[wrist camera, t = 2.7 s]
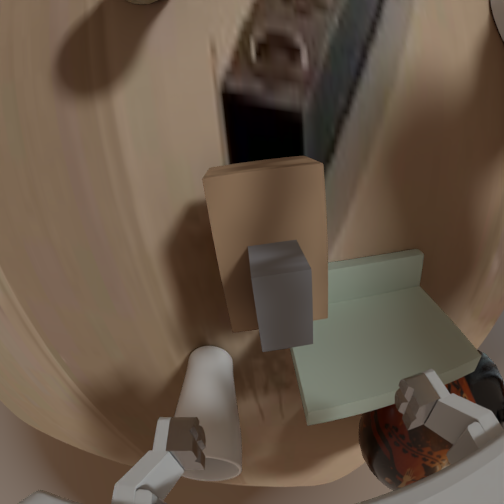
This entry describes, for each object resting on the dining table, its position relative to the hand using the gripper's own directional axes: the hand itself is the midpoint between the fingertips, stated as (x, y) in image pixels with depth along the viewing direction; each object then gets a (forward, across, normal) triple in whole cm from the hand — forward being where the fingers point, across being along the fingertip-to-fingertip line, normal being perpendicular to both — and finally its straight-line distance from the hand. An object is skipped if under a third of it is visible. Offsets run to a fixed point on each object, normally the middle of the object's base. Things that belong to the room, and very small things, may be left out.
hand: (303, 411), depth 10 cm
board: (+19, -9, +7) cm, 22 cm away
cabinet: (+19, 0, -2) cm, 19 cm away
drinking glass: (+20, +8, +15) cm, 26 cm away
